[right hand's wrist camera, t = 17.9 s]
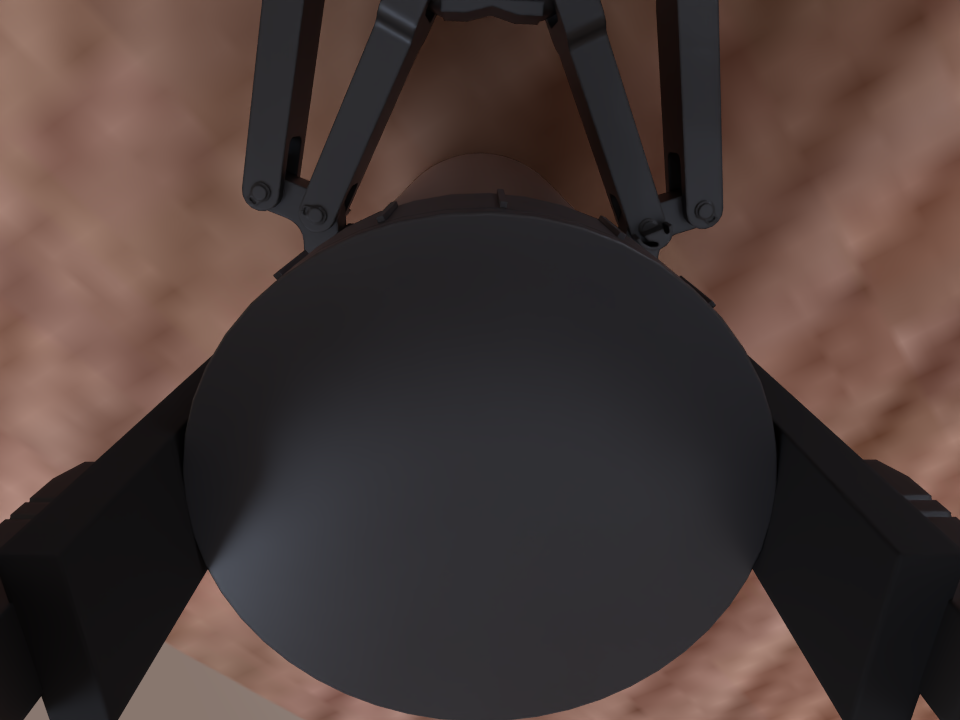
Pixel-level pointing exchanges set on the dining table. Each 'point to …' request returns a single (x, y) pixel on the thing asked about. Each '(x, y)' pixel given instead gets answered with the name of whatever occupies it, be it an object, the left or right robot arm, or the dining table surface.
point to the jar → (480, 179)
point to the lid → (480, 460)
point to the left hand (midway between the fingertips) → (475, 400)
